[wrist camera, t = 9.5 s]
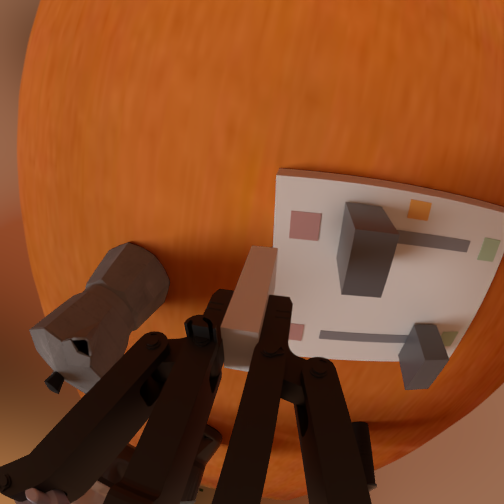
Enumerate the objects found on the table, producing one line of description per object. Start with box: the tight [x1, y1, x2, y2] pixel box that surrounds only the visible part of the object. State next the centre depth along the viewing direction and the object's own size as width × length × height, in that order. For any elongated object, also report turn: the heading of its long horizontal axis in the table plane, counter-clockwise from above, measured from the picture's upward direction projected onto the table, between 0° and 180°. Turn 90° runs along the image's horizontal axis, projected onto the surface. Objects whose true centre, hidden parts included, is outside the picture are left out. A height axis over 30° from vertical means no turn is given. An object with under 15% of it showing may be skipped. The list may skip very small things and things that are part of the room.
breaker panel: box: [273, 168, 504, 361], centre depth 25 cm, size 24×20×3 cm
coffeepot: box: [30, 242, 170, 394], centre depth 25 cm, size 15×9×18 cm, turn 134°
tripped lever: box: [336, 202, 400, 298], centre depth 19 cm, size 3×5×5 cm, turn 179°
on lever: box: [398, 325, 449, 390], centre depth 24 cm, size 3×5×5 cm, turn 179°
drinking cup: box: [352, 422, 377, 491], centre depth 34 cm, size 8×8×20 cm
